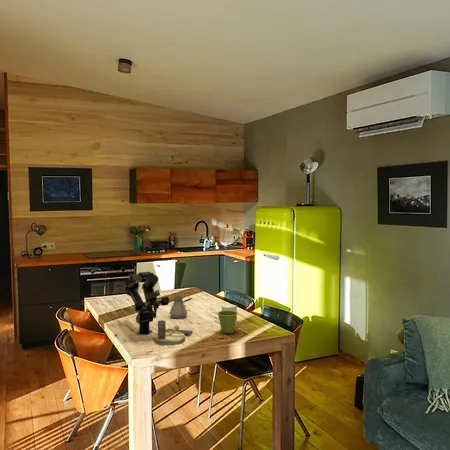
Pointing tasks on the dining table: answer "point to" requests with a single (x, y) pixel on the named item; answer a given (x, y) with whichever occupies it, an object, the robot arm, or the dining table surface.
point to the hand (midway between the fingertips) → (155, 317)
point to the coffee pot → (179, 308)
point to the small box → (230, 308)
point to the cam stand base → (186, 333)
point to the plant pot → (227, 320)
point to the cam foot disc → (168, 334)
